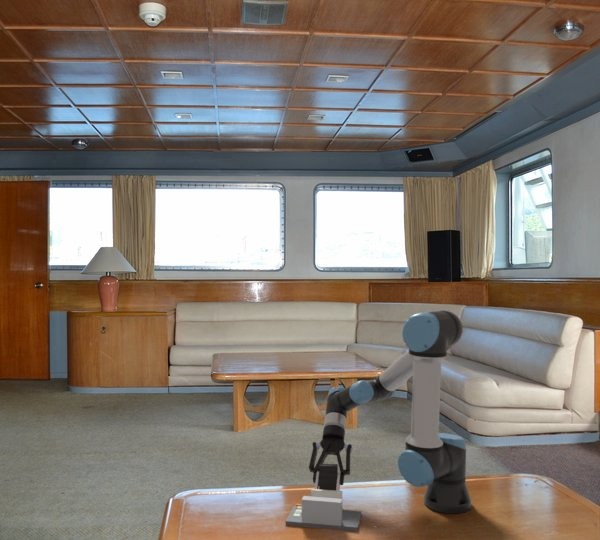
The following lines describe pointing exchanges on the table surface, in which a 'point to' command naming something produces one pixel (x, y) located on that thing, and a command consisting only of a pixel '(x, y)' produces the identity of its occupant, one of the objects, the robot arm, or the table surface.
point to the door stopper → (328, 476)
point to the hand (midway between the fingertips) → (326, 493)
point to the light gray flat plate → (324, 494)
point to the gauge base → (346, 525)
